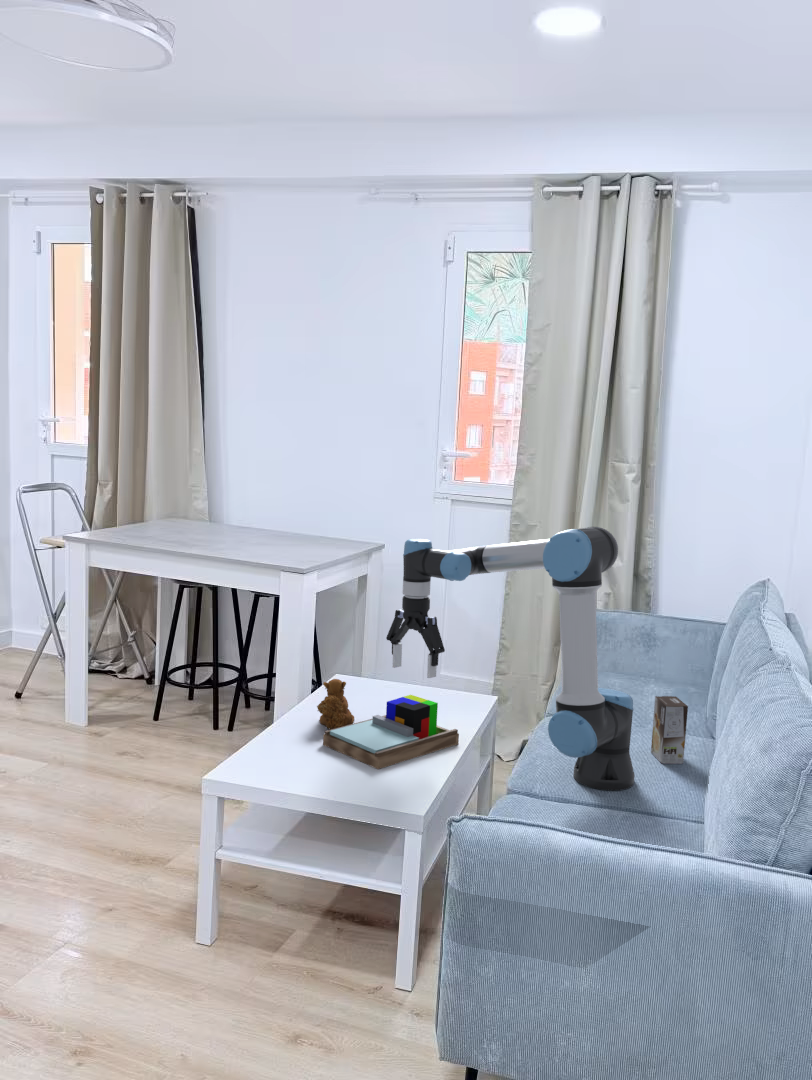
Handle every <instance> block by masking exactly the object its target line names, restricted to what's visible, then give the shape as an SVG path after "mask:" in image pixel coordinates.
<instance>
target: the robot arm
mask: <svg viewBox="0 0 812 1080" xmlns="http://www.w3.org/2000/svg"><path fill="white" fill-rule="evenodd" d="M403 548H404V549H403V555H402V556H403V577H402V595H403V596H402V597H401V598H402V599H401V600H402V601H401V602H402V604H401V605H402V607H401V609H400V608H399V609H396V610H395V613H394V617H393V621H392V623H391V626H390V628H389V630H388V632H387V635H386V641H388V642H389V641H390V643H391V655H392V668H394V669H395V668H400V667H402V662H403V661H402V658H403V657H402V655H403V653H402V652H403V643H402V640H403V638H404V637H405V635H407V633H408V632H409V630H414V631H417V632H418V634H420V635H421V637H422V639H423V641H424V643H425V646H426V647H427V649H428V651H429V653H427V671H426V672H427V673H426V676H427V679H432V678H437V668H438V667H437V666H438V665H439V655H440V654H442V653H445V651H446V650H445V647H444V643H443V639H442V636H441V633H440V629H439V627H438V618H437V617H436V616H429V614H428V613H429V611H430V608H431V598H430V595H431V578H437V579H442V580H446V581H447V580H448V581H451V582H453V581H455V582H456V581H458V582H461V581H464V580H466V578H468V577H469V576H472V575H473V576H474V575H483V574H492V573H493V574H494V573H502V572H503V573H504V572H505V573H507V572H516V571H518V572H519V571H532V570H542V569H545V571H546V572H547V573H548V575H549V576H550V577H551V578H552V579H551V582H552V583H551V587H552V588H553V589H555V590H556V592H557V594H558V602H559V603H558V605H559V606H558V607H559V633H560V634H559V635H560V636H559V637H560V661H561V662H560V667H561V670H560V672H561V691H560V693H559V694H557V696H556V697H555V713H554V714H553V715H552V716H551V718H550V719H549V721H548V726H547V730H548V731H547V732H548V737H549V739H550V741H551V743H552V745H553V746H554V747H555V748H556V749H557V751H558V752H560V753H561V754H563V755H564V756H567V757H569V758H575V759H576V758H577V759H576V761H575V763H574V766H573V779H574V780H575V781H576V782H578V783H579V784H582V785H583V786H586V787H588V788H592V789H597V790H602V791H623V790H627V789H630V788H631V787H633V786H634V785H635V771H634V767H633V763H632V759H631V755H630V747H631V735H632V723H633V715H634V714H633V713H634V699H633V697H632V696H631V695H630V694H628V693H626V692H624V691H620V690H615V689H611V688H604V687H599V679H598V678H599V677H598V676H599V673H598V643H597V642H598V641H597V640H598V637H597V632H598V631H597V602H596V601H597V595H596V592H597V591H598V590H599V589H600V588H601V587H602V584H603V583H602V582H603V580H602V573H605V572H607V571H608V570H609V569H610V568H611V567H613V566H614V564H615V562H616V561H617V558H618V555H619V546H618V542H617V540H616V538H615V536H614V535H613V534H612V533H611V532H610V531H608V530H607V529H605V528H602V527H599V526H588V527H580V528H571V529H570V528H569V529H566V530H563V531H560V532H557V533H556V534H553V535H552V536H551V537H550V538H546V539H535V540H527V541H518V542H509V543H508V542H507V543H499V544H498V543H497V544H490V545H475V546H470V547H469V546H468V547H464V548H457V549H456V548H455V549H450V550H448V549H446V550H443V549H436V548H433V543H432V541H431V540H430V539H425V538H409V539H406V541H405V542H404V547H403Z"/></svg>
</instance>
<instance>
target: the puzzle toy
mask: <svg viewBox="0 0 812 1080" xmlns="http://www.w3.org/2000/svg"><path fill="white" fill-rule="evenodd" d="M438 704H439V703H438V702H435V701H433V700H430V699H427V698H423V697H419V696H417V695H413V694H408V695H404V696H402V697H398V698H395V699H391V700H388V701H386V708H385V709H386V710H385V713H386V714H385V715H386V718H388V719H390V720H393V721H395V722H398V723H401V724H403V725H406V726H408V727H411V728H413V736H415V737H418V738H419V739H422V738H426V737H429V736H432V735H436V727H437V726H438V725H437V724H438Z"/></svg>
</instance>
